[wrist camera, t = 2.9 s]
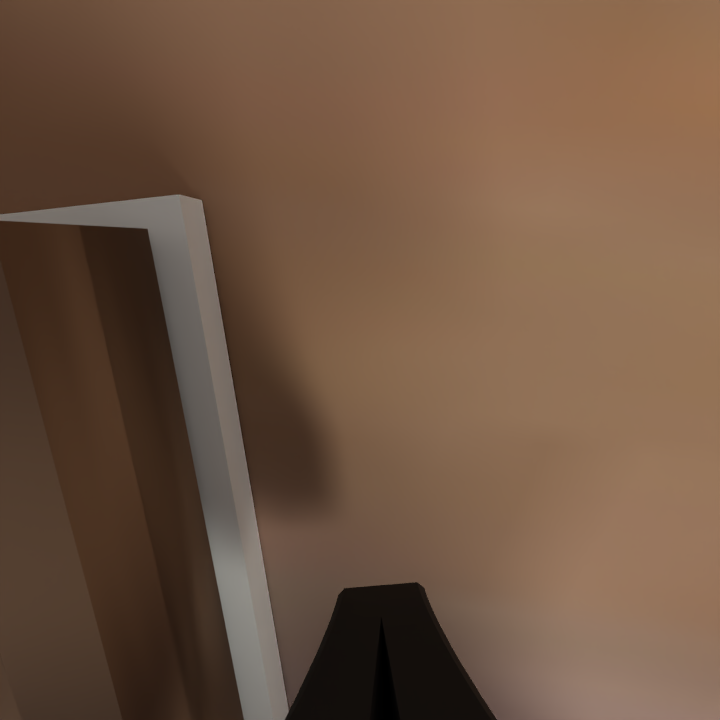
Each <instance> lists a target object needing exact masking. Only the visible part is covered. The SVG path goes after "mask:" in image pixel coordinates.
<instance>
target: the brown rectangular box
mask: <svg viewBox="0 0 720 720" xmlns="http://www.w3.org/2000/svg"><path fill="white" fill-rule="evenodd" d="M0 720H244V717H243V712H242V707H241V702H240V697H239V692H238V687H237V682H236V677H235V672H234V667H233V661H232V656H231V651H230V646H229V641H228V636H227V631H226V626H225V621H224V616H223V611H222V605H221V600H220V595H219V590H218V585H217V580H216V575H215V570H214V565H213V560H212V554H211V549H210V544H209V539H208V534H207V529H206V524H205V519H204V514H203V509H202V504H201V498H200V493H199V488H198V483H197V478H196V473H195V468H194V463H193V458H192V453H191V448H190V442H189V437H188V432H187V427H186V422H185V417H184V412H183V407H182V402H181V397H180V392H179V386H178V381H177V376H176V371H175V366H174V361H173V356H172V351H171V346H170V341H169V336H168V330H167V325H166V320H165V315H164V310H163V305H162V300H161V295H160V290H159V285H158V279H157V274H156V269H155V264H154V259H153V254H152V249H151V244H150V239H149V234H148V229H144V228H126V227H108V226H89V225H71V224H53V223H34V222H16V221H0Z"/></svg>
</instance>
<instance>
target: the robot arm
mask: <svg viewBox="0 0 720 720" xmlns="http://www.w3.org/2000/svg"><path fill="white" fill-rule="evenodd" d="M285 720H497V719H496V718H495V716H494V715H493V713H492V712H491V710H490V709H489V707H488V706H487V704H486V703H485V701H484V700H483V698H482V697H481V695H480V693H479V692H478V690H477V688H476V687H475V685H474V684H473V682H472V680H471V679H470V677H469V676H468V674H467V672H466V671H465V669H464V667H463V666H462V664H461V663H460V661H459V659H458V657H457V656H456V654H455V652H454V650H453V649H452V647H451V645H450V643H449V641H448V640H447V638H446V636H445V634H444V632H443V630H442V628H441V626H440V624H439V622H438V620H437V618H436V616H435V614H434V612H433V610H432V608H431V605H430V603H429V600H428V598H427V595H426V592H425V589H424V588H423V587H422V586H421V585H420V584H419V583H417V582H416V583H404V584H392V585H380V586H368V587H356V588H344V590H343V591H342V592H341V593H340V594H339V595H338V598H337V602H336V605H335V608H334V611H333V614H332V617H331V620H330V622H329V625H328V627H327V630H326V633H325V635H324V637H323V640H322V642H321V645H320V647H319V649H318V652H317V654H316V656H315V659H314V661H313V663H312V665H311V667H310V669H309V671H308V673H307V676H306V678H305V680H304V682H303V684H302V686H301V688H300V690H299V693H298V695H297V697H296V699H295V701H294V703H293V705H292V707H291V709H290V711H289V713H288V714H287V716H286V718H285Z"/></svg>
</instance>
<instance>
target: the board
mask: <svg viewBox="0 0 720 720" xmlns="http://www.w3.org/2000/svg"><path fill="white" fill-rule="evenodd" d="M0 221H16V222H34V223H53V224H71V225H89V226H108V227H126V228H144V229H148V234H149V239H150V244H151V249H152V254H153V259H154V264H155V269H156V274H157V279H158V285H159V290H160V295H161V300H162V305H163V310H164V315H165V320H166V325H167V330H168V336H169V341H170V346H171V351H172V356H173V361H174V366H175V371H176V376H177V381H178V386H179V392H180V397H181V402H182V407H183V412H184V417H185V422H186V427H187V432H188V437H189V442H190V448H191V453H192V458H193V463H194V468H195V473H196V478H197V483H198V488H199V493H200V498H201V504H202V509H203V514H204V519H205V524H206V529H207V534H208V539H209V544H210V549H211V554H212V560H213V565H214V570H215V575H216V580H217V585H218V590H219V595H220V600H221V605H222V611H223V616H224V621H225V626H226V631H227V636H228V641H229V646H230V651H231V656H232V661H233V667H234V672H235V677H236V682H237V687H238V692H239V697H240V702H241V707H242V712H243V717H244V720H285V718H286V716H287V714H288V713H289V709H288V703H287V697H286V692H285V686H284V680H283V674H282V668H281V662H280V656H279V650H278V645H277V639H276V633H275V627H274V621H273V615H272V609H271V603H270V597H269V592H268V586H267V580H266V574H265V568H264V562H263V556H262V550H261V545H260V539H259V533H258V527H257V521H256V515H255V509H254V503H253V498H252V492H251V486H250V480H249V474H248V468H247V462H246V456H245V450H244V445H243V439H242V433H241V427H240V421H239V415H238V409H237V403H236V398H235V392H234V386H233V380H232V374H231V368H230V362H229V356H228V351H227V345H226V339H225V333H224V327H223V321H222V315H221V309H220V303H219V298H218V292H217V286H216V280H215V274H214V268H213V262H212V256H211V251H210V245H209V239H208V233H207V227H206V221H205V215H204V209H203V204H202V200H200V199H196V198H192V197H188V196H184V195H180V194H178V195H169V196H160V197H151V198H142V199H133V200H125V201H116V202H107V203H98V204H89V205H80V206H71V207H62V208H53V209H45V210H36V211H27V212H18V213H9V214H0Z"/></svg>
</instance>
